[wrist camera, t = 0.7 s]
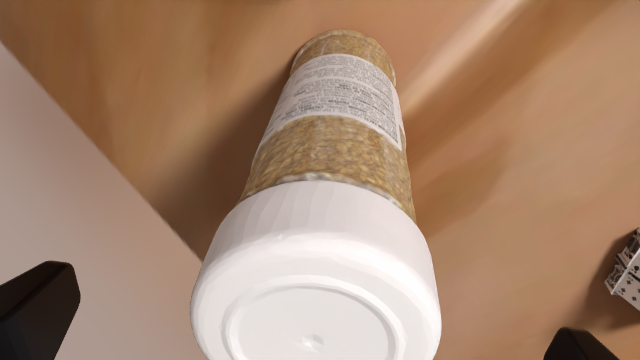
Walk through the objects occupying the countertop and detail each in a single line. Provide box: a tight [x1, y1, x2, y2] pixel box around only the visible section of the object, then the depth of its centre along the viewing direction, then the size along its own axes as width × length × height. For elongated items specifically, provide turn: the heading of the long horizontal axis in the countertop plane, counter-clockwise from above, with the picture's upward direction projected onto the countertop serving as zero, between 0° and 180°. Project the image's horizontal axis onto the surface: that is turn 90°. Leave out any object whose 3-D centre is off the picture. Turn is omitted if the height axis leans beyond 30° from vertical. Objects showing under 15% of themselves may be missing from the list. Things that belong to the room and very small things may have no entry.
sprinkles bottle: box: [190, 29, 442, 360], centre depth 13 cm, size 5×5×13 cm
